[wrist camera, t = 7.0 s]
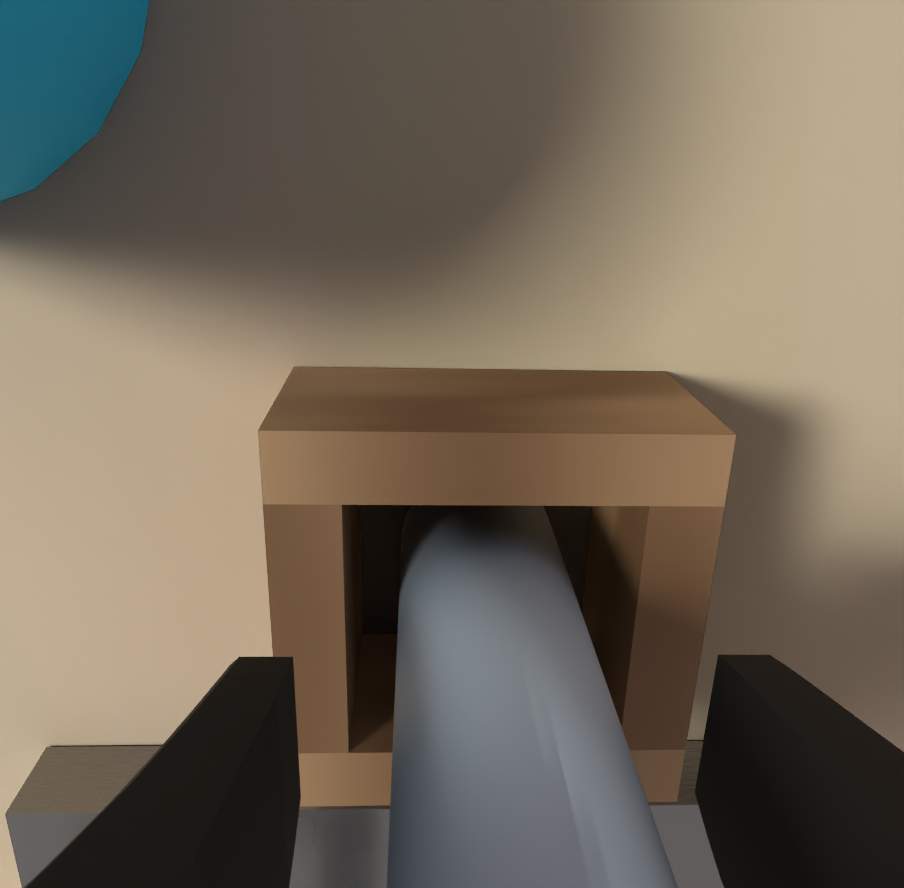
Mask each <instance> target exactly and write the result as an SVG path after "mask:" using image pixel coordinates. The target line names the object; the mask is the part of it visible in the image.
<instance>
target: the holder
mask: <svg viewBox="0 0 904 888" xmlns="http://www.w3.org/2000/svg"><path fill="white" fill-rule="evenodd" d="M258 438H259V453H260V468H261V483H262V498H263V513H264V528H265V543H266V558H267V573H268V588H269V603H270V618H271V633H272V648H273V657H293V665H294V683H295V701H296V718H297V736H298V754H299V772H300V790H301V800H300V806H378V805H390V798H391V775H392V752H393V729H394V706H395V682H396V659H397V636H398V634H362V597H361V544H360V505H502V506H592V515H591V526H590V536H589V546H588V557H587V567H586V578H585V588H584V598H583V609H582V615H583V618H584V621H585V624H586V627H587V629H588V632H589V635H590V638H591V641H592V644H593V647H594V649H595V652H596V655H597V658H598V661H599V664H600V667H601V669H602V672H603V675H604V678H605V681H606V684H607V687H608V689H609V692H610V695H611V698H612V701H613V704H614V707H615V709H616V712H617V715H618V718H619V721H620V724H621V726H622V729H623V732H624V735H625V738H626V741H627V744H628V746H629V749H630V752H631V755H632V758H633V761H634V764H635V766H636V769H637V772H638V775H639V778H640V781H641V784H642V786H643V789H644V792H645V795H646V798H647V801H648V802H677V798H678V792H679V786H680V779H681V773H682V767H683V761H684V755H685V749H686V742H687V736H688V730H689V724H690V718H691V711H692V705H693V699H694V693H695V687H696V681H697V674H698V668H699V662H700V656H701V650H702V644H703V637H704V631H705V625H706V619H707V613H708V606H709V600H710V594H711V588H712V582H713V576H714V569H715V563H716V557H717V551H718V545H719V539H720V532H721V526H722V520H723V514H724V508H725V501H726V495H727V489H728V483H729V477H730V471H731V464H732V458H733V452H734V446H735V440H736V434H735V433H733V432H732V431H731V430H730V429H729V428H728V427H727V426H726V425H725V424H724V423H722V422H721V421H720V420H719V419H718V418H717V417H716V416H715V415H714V414H713V413H711V412H710V411H709V410H708V409H707V408H706V407H705V406H704V405H703V404H701V403H700V402H699V401H698V400H697V399H696V398H695V397H694V396H693V395H692V394H690V393H689V392H688V391H687V390H686V389H685V388H684V387H683V386H682V385H681V384H679V383H678V382H677V381H676V380H675V379H674V378H673V377H672V376H671V375H669V374H668V373H667V372H654V371H577V370H499V369H422V368H345V367H294V368H293V369H292V371H291V373H290V375H289V377H288V378H287V380H286V382H285V384H284V385H283V387H282V389H281V391H280V392H279V394H278V396H277V398H276V400H275V401H274V403H273V405H272V407H271V408H270V410H269V412H268V414H267V416H266V417H265V419H264V421H263V423H262V424H261V426H260V428H259V430H258Z"/></svg>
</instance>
